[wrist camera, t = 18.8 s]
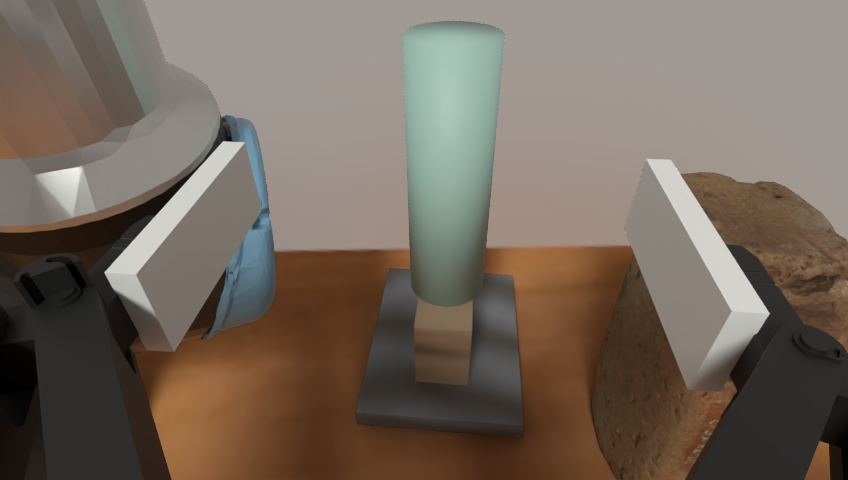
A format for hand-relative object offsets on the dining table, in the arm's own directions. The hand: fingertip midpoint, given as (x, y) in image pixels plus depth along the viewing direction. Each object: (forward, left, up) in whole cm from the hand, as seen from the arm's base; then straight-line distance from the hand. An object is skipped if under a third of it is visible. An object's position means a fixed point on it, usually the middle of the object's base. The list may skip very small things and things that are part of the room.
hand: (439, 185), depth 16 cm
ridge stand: (-3, +13, -24) cm, 28 cm away
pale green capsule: (-3, +13, -16) cm, 21 cm away
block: (+13, +8, -24) cm, 29 cm away
